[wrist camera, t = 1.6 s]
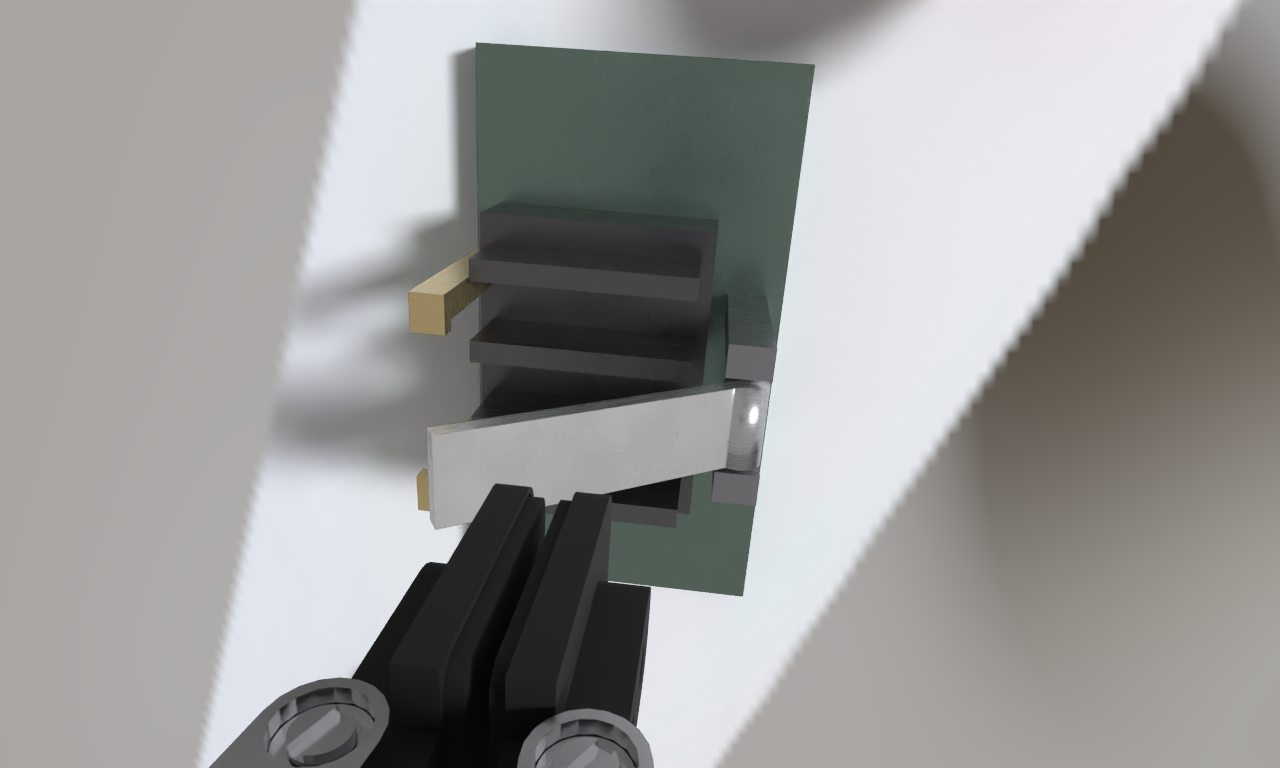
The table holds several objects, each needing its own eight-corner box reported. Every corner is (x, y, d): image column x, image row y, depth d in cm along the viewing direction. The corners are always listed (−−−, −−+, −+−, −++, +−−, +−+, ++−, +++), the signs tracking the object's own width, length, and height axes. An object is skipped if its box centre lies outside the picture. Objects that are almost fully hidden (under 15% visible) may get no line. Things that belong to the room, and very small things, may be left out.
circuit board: (484, 44, 31) (392, 25, 22) (811, 65, 30) (846, 54, 21) (489, 552, 39) (423, 680, 31) (742, 581, 38) (747, 721, 30)
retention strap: (421, 420, 22) (436, 443, 21) (751, 372, 28) (780, 388, 26) (425, 511, 23) (440, 538, 22) (742, 447, 29) (769, 466, 27)
